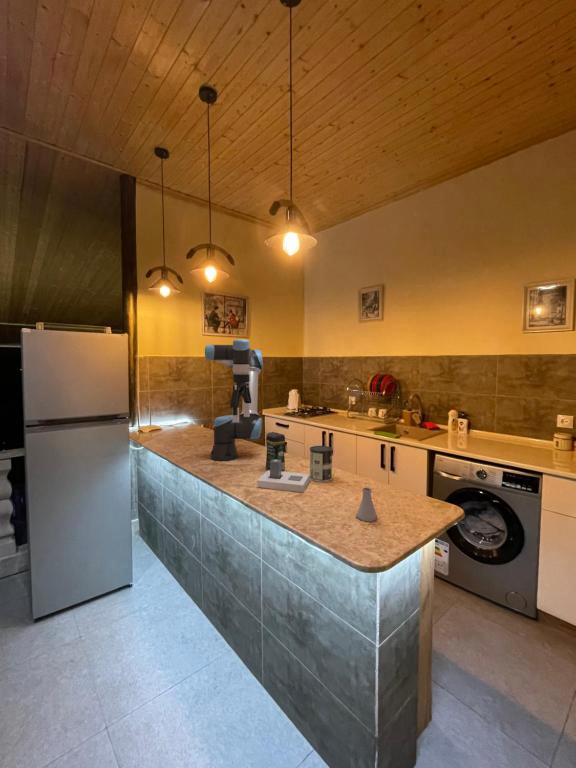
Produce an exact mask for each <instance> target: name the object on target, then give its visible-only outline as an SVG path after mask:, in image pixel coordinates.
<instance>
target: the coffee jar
mask: <svg viewBox="0 0 576 768" xmlns="http://www.w3.org/2000/svg"><path fill="white" fill-rule="evenodd" d="M265 436H266V438H265V443H266V455H265V456H266V457H265V458H266V460H265V468H266V470H267V471H268V470H270V461H271V460H273V459H276V460H281V472H284V470H285V469H286V463H285V462H286V461H285V460H286V459H285V443H286V436H285V434H283V433H279V432H276V431H271V432H270V431H269V432H267V434H266V435H265Z"/></svg>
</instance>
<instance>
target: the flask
mask: <svg viewBox="0 0 576 768" xmlns="http://www.w3.org/2000/svg"><path fill="white" fill-rule="evenodd" d="M361 491H362V498H361V502H360V504H359V507H358V510H357V512H356V515H355V518H357V519H358V520H360V521H362V522H363V521H364V522H367V523H368V522H369V523H371V522H374V521H376V520H377V519H378V515H377V511H376V509H375V506H374V503H373V499H372V491H373V489H372V488H371V487H366V486H364V487H362V489H361Z"/></svg>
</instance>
